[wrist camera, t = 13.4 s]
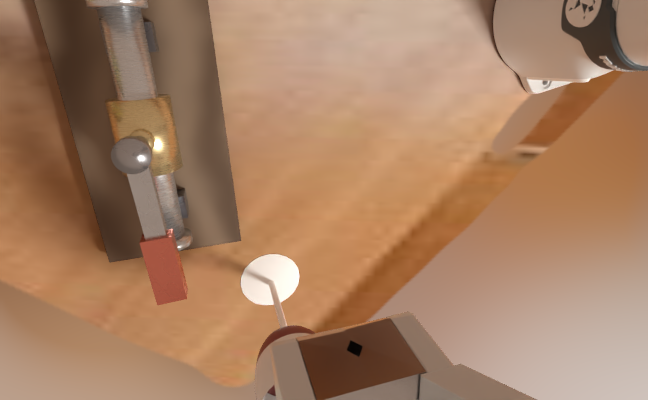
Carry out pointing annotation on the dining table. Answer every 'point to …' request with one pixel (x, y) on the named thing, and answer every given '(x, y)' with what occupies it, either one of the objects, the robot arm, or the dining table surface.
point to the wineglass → (272, 288)
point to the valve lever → (151, 220)
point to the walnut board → (171, 78)
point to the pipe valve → (143, 102)
